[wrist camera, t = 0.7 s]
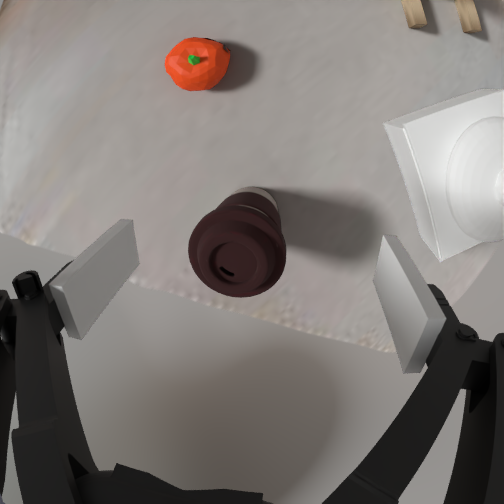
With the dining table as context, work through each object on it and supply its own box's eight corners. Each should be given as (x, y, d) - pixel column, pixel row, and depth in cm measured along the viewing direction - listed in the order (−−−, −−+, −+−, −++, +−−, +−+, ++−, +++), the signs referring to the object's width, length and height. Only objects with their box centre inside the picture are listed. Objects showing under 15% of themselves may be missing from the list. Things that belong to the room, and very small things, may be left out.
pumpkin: (177, 43, 34) (160, 29, 28) (236, 45, 33) (228, 29, 27) (169, 91, 36) (149, 84, 30) (228, 95, 36) (217, 87, 30)
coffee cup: (271, 165, 40) (260, 200, 27) (298, 230, 44) (300, 291, 30) (204, 192, 43) (165, 238, 29) (234, 252, 46) (211, 316, 33)
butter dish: (419, 235, 42) (464, 296, 28) (380, 119, 35) (430, 132, 21) (506, 196, 36) (567, 239, 22) (479, 84, 30) (552, 90, 16)
